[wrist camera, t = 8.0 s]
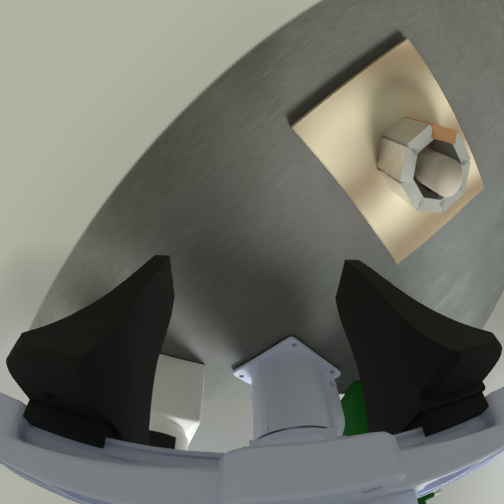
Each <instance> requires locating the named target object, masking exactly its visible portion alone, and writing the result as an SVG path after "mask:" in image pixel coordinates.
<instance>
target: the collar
mask: <svg viewBox="0 0 504 504" xmlns="http://www.w3.org/2000/svg"><path fill="white" fill-rule="evenodd" d="M382 136H383V137H384V138H383V137H380V144H379V152H378V159H377V167H378V169H377V170H378V171H379V173H380V174H381V176H382V177H383V179H384V180H385V182H386V183H387V185H388V186H389V188H390V189H391V191H392V192H394V193H395V194H396V195H398V196H399V197H400V198H401V199H403V200H404V201H405V202H407V203H408V204H409V205H410V206H412V207H413V208H414V209H416V210H417V211H424V212H435V213H441V212H442V211H443V212H444V211H445V210H446V209H448V208H449V207H450V206H451V205H452V204H453V203H454V202H455V201H456V200H457V199H458V198H459V197H460V196H461V195H462V194H463V192H462V191H465V187H466V183H467V178H468V173H469V168H470V163H471V162H470V161H469V160H470V156H469V154H468V152H467V149H466V147H465V145H464V143H463V140H462V138H461V136H460V134H459V133H458V132H457V131H456V130H453V129H449V128H446V127H443V126H439V125H436V124H432V123H428V122H424V121H420V120H416V119H412V118H407V117H404V118H401V119H400V120H398V121H397V122H396V123H395V124H394V125H392V126H391V127H390V128H389V129H388V130H386V131H385V132H384V133H383V134H382ZM428 144H430V146H431V148H432V150H434V151H436V152H439V153H441V154H444V155H446V156H448V157H450V158H453V159H455V160H456V161H458V162H459V164H460V165H461V168H462V171H463V179H462V183H461V186H460V188H459V190H458V191H457V192H456V193H455V194H454V195H452V196H450V197H443V196H441V195H439V194H438V193H436V192H435V191H433V190H432V189H430V188H428V187H427V186H425V185H424V184H422V183H420V182H419V181H417V182H416V183H415V181H414V179H413V177H414V172H415V166H416V160H417V154H418V153H419V152H420V151H421V150H422V149H423V148H424V147H426V146H427V145H428Z"/></svg>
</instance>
